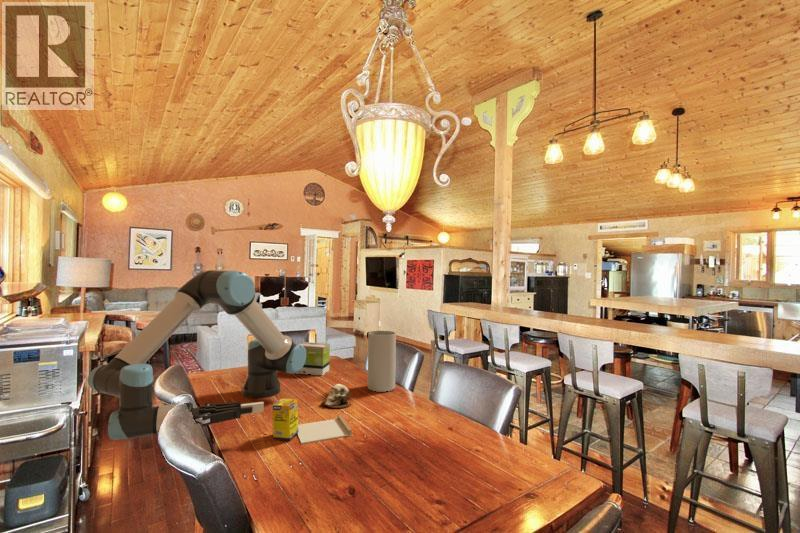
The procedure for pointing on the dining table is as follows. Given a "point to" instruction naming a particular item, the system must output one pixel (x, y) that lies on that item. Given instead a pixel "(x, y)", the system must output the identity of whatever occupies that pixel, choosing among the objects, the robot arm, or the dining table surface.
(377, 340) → the cylinder vase
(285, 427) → the supplement box
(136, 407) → the robot arm
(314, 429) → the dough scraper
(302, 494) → the dining table surface
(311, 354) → the tea box
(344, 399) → the skull
